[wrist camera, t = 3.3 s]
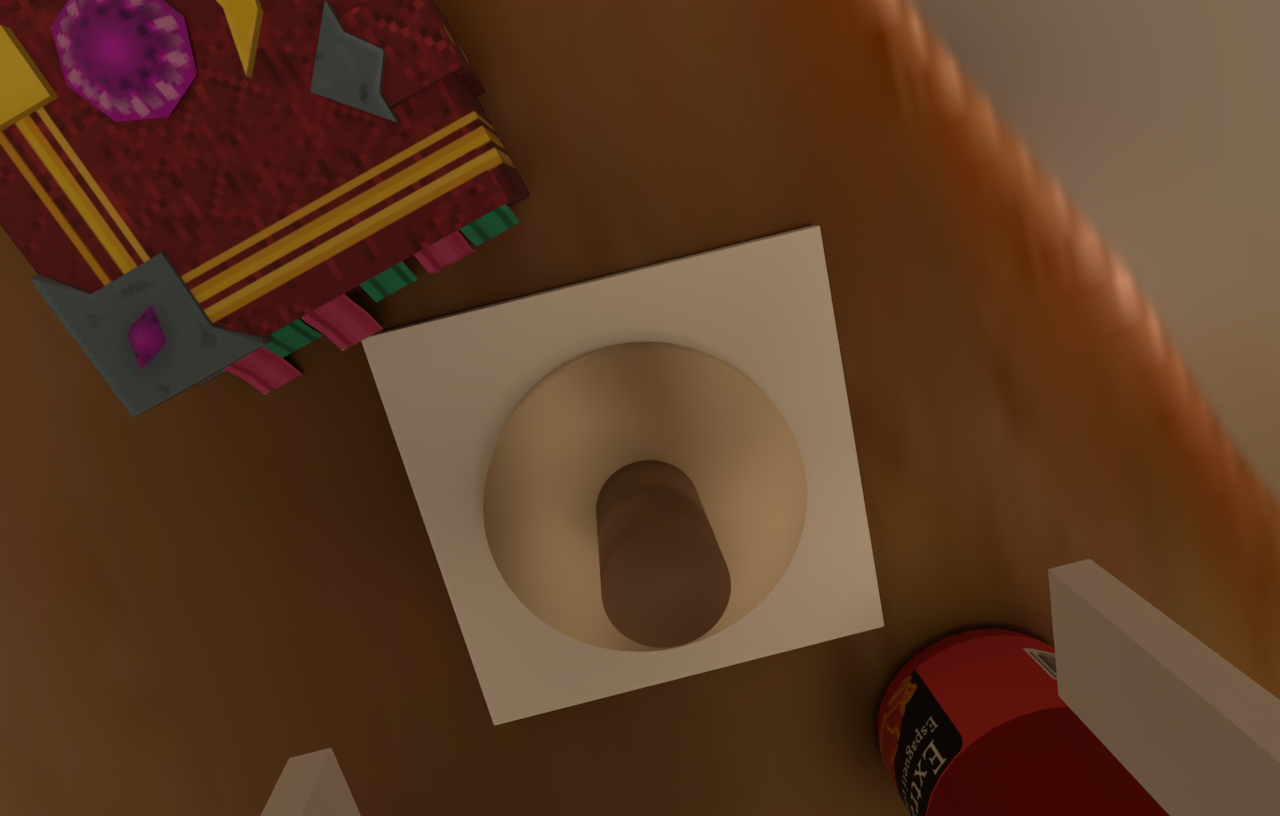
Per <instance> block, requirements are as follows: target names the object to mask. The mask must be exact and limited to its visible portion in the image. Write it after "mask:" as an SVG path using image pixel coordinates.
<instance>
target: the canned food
mask: <svg viewBox="0 0 1280 816" xmlns="http://www.w3.org/2000/svg"><path fill="white" fill-rule="evenodd" d="M878 738H879V746H880V752H881V756H882V760H883V763H884V766H885V768H886V770H887V772H888V774H889V776H890V778H891V779H892V781H893V783H894V785H895V787H896V789H897V791H898V793H899V794H900V796H901V798H902V800H903V802H904V804H905V806H906V808H907V810H908V811H909V813H910V815H911V816H1170V815H1169V814H1168V813H1167V812H1166V811H1165V810H1164V809H1163V808H1162V807H1161V806H1160V805H1159V804H1158V802H1157V801H1156V800H1155V799H1154V798H1153V797H1152V796H1151V795H1150V794H1149V793H1148V792H1147V791H1146V790H1145V788H1144V787H1143V786H1142V785H1141V784H1140V783H1139V782H1138V781H1137V780H1136V779H1135V778H1134V777H1133V775H1132V774H1131V773H1130V772H1129V771H1128V770H1127V769H1126V768H1125V767H1124V766H1123V765H1122V764H1121V763H1120V761H1119V760H1118V759H1117V758H1116V757H1115V756H1114V755H1113V754H1112V753H1111V752H1110V751H1109V750H1108V749H1107V747H1106V746H1105V745H1104V744H1103V743H1102V742H1101V741H1100V740H1099V739H1098V738H1097V737H1096V736H1095V735H1094V733H1093V732H1092V731H1091V730H1090V729H1089V728H1088V727H1087V726H1086V725H1085V724H1084V723H1083V722H1082V721H1081V719H1080V718H1079V717H1078V716H1077V715H1076V714H1075V713H1074V712H1073V711H1072V710H1071V709H1070V708H1069V706H1068V705H1067V704H1066V703H1065V702H1064V701H1063V700H1062V699H1061V698H1060V697H1059V696H1058V684H1057V671H1056V659H1055V647H1053V646H1050V645H1048V644H1046V643H1044V642H1042V641H1040V640H1037V639H1035V638H1033V637H1031V636H1028V635H1026V634H1024V633H1020V632H1015V631H1011V630H1007V629H989V628H987V629H979V630H970V631H966V632H962V633H959V634H955V635H952V636H948V637H946V638H944V639H942V640H940V641H938V642H936V643H934V644H932V645H930V646H928V647H927V648H925V649H924V650H922V651H921V652H920V653H918V654H917V655H915V656H914V657H913V658H912V659H911V660H910V661H909V662H908V663H906V664H905V665H904V666H903V667H902V668H901V669H900V670H899V672H898V673H897V674H896V676H895V677H894V679H893V680H892V681H891V683H890V684H889V686H888V688H887V690H886V692H885V694H884V697H883V699H882V701H881V705H880V710H879V714H878Z"/></svg>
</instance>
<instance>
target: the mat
mask: <svg viewBox="0 0 1280 816" xmlns="http://www.w3.org/2000/svg"><path fill="white" fill-rule="evenodd" d="M361 342H362V345H363V347H364V350H365V353H366V356H367V359H368V362H369V365H370V368H371V371H372V373H373V376H374V379H375V382H376V385H377V388H378V391H379V394H380V397H381V399H382V402H383V405H384V408H385V411H386V414H387V417H388V420H389V423H390V426H391V428H392V431H393V434H394V437H395V440H396V443H397V446H398V449H399V452H400V454H401V457H402V460H403V463H404V466H405V469H406V472H407V475H408V478H409V481H410V483H411V486H412V489H413V492H414V495H415V498H416V501H417V504H418V507H419V509H420V512H421V515H422V518H423V521H424V524H425V527H426V530H427V533H428V536H429V538H430V541H431V544H432V547H433V550H434V553H435V556H436V559H437V562H438V564H439V567H440V570H441V573H442V576H443V579H444V582H445V585H446V588H447V591H448V593H449V596H450V599H451V602H452V605H453V608H454V611H455V614H456V617H457V619H458V622H459V625H460V628H461V631H462V634H463V637H464V640H465V643H466V646H467V648H468V651H469V654H470V657H471V660H472V663H473V666H474V669H475V672H476V674H477V677H478V680H479V683H480V686H481V689H482V692H483V695H484V698H485V701H486V703H487V706H488V709H489V712H490V715H491V718H492V721H493V724H494V725H498V724H502V723H506V722H510V721H514V720H518V719H522V718H526V717H530V716H534V715H538V714H542V713H546V712H550V711H553V710H557V709H561V708H565V707H569V706H573V705H577V704H581V703H585V702H589V701H593V700H597V699H601V698H605V697H608V696H612V695H616V694H620V693H624V692H628V691H632V690H636V689H640V688H644V687H648V686H652V685H656V684H660V683H664V682H667V681H671V680H675V679H679V678H683V677H687V676H691V675H695V674H699V673H703V672H707V671H711V670H715V669H719V668H723V667H726V666H730V665H734V664H738V663H742V662H746V661H750V660H754V659H758V658H762V657H766V656H770V655H774V654H778V653H781V652H785V651H789V650H793V649H797V648H801V647H805V646H809V645H813V644H817V643H821V642H825V641H829V640H833V639H837V638H840V637H844V636H848V635H852V634H856V633H860V632H864V631H868V630H872V629H876V628H880V627H884V621H883V614H882V608H881V602H880V596H879V590H878V583H877V577H876V571H875V565H874V559H873V553H872V546H871V540H870V534H869V528H868V522H867V515H866V509H865V503H864V497H863V491H862V485H861V478H860V472H859V466H858V460H857V454H856V447H855V441H854V435H853V429H852V423H851V417H850V410H849V404H848V398H847V392H846V386H845V379H844V373H843V367H842V361H841V355H840V349H839V342H838V336H837V330H836V324H835V318H834V311H833V305H832V299H831V293H830V287H829V281H828V274H827V268H826V262H825V256H824V250H823V243H822V237H821V231H820V226H817V225H811V226H807V227H803V228H799V229H795V230H791V231H787V232H783V233H779V234H775V235H771V236H767V237H763V238H759V239H754V240H750V241H746V242H742V243H738V244H734V245H730V246H726V247H722V248H718V249H714V250H710V251H706V252H702V253H698V254H694V255H689V256H685V257H681V258H677V259H673V260H669V261H665V262H661V263H657V264H653V265H649V266H645V267H641V268H637V269H633V270H629V271H625V272H620V273H616V274H612V275H608V276H604V277H600V278H596V279H592V280H588V281H584V282H580V283H576V284H572V285H568V286H564V287H560V288H556V289H551V290H547V291H543V292H539V293H535V294H531V295H527V296H523V297H519V298H515V299H511V300H507V301H503V302H499V303H495V304H491V305H486V306H482V307H478V308H474V309H470V310H466V311H462V312H458V313H454V314H450V315H446V316H442V317H438V318H434V319H430V320H426V321H422V322H417V323H413V324H409V325H405V326H401V327H397V328H393V329H389V330H385V331H381V332H377V333H375V334H373V335H371V336H369V337H368V338H366V339H364V340H362V341H361ZM633 342H660V343H672V344H676V345H681V346H686V347H690V348H694V349H697V350H699V351H702V352H705V353H708V354H711V355H713V356H715V357H717V358H718V359H720V360H722V361H724V362H726V363H728V364H730V365H731V366H733V367H734V368H736V369H737V370H738V371H740V372H741V373H743V374H744V375H746V376H747V377H748V378H749V379H750V380H751V381H752V382H753V383H754V384H755V385H756V386H757V387H758V388H760V389H761V390H762V392H763V393H764V394H765V395H766V396H767V397H768V398H769V399H770V400H771V402H772V403H773V404H774V405H775V406H776V408H777V409H778V410H779V411H780V413H781V414H782V415H783V417H784V419H785V420H786V422H787V424H788V425H789V427H790V429H791V430H792V432H793V434H794V437H795V439H796V441H797V444H798V446H799V449H800V451H801V455H802V459H803V463H804V467H805V472H806V481H807V511H806V517H805V523H804V529H803V532H802V535H801V538H800V542H799V545H798V548H797V550H796V552H795V554H794V556H793V559H792V561H791V563H790V565H789V567H788V568H787V570H786V571H785V573H784V575H783V576H782V578H781V579H780V581H779V582H778V583H777V585H776V586H775V587H774V588H773V590H772V591H771V592H770V593H769V595H768V596H767V597H766V598H765V599H764V600H763V601H762V602H761V603H760V604H759V605H758V606H757V607H756V608H755V609H754V610H752V611H751V612H750V613H748V614H747V615H746V616H745V617H743V618H742V619H741V620H739V621H738V622H737V623H735V624H733V625H731V626H730V627H728V628H726V629H725V630H723V631H721V632H720V633H717V634H715V635H713V636H711V637H708V638H706V639H704V640H702V641H699V642H695V643H692V644H689V645H686V646H683V647H678V648H673V649H667V650H662V651H649V652H630V651H618V650H612V649H605V648H601V647H597V646H593V645H590V644H586V643H583V642H581V641H578V640H576V639H573V638H571V637H569V636H566V635H564V634H563V633H561V632H559V631H557V630H556V629H554V628H552V627H550V626H549V625H547V624H546V623H545V622H543V621H542V620H541V619H539V618H538V617H537V616H535V615H534V614H533V613H532V612H531V611H530V610H529V609H528V608H527V607H525V606H524V605H523V604H522V603H521V602H520V601H519V600H518V598H517V597H516V596H515V594H514V593H513V592H512V591H511V589H510V588H509V587H508V585H507V584H506V582H505V581H504V579H503V577H502V575H501V574H500V572H499V570H498V568H497V566H496V564H495V561H494V559H493V556H492V554H491V551H490V549H489V545H488V541H487V537H486V532H485V526H484V516H483V497H484V486H485V481H486V476H487V471H488V467H489V464H490V460H491V457H492V454H493V451H494V448H495V445H496V442H497V440H498V437H499V435H500V433H501V431H502V429H503V427H504V425H505V423H506V421H507V419H508V418H509V416H510V415H511V413H512V412H513V411H514V409H515V408H516V406H517V405H518V403H519V402H520V401H521V400H522V399H523V398H524V397H525V395H526V394H527V393H528V392H529V391H530V390H531V389H532V388H533V387H534V386H535V385H536V384H537V383H539V382H540V381H541V380H542V379H543V378H545V377H546V376H547V375H548V374H549V373H551V372H553V371H554V370H556V369H557V368H559V367H560V366H562V365H564V364H565V363H567V362H569V361H571V360H573V359H575V358H577V357H579V356H582V355H584V354H586V353H589V352H592V351H595V350H598V349H601V348H604V347H608V346H613V345H619V344H624V343H633Z"/></svg>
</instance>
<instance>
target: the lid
mask: <svg viewBox="0 0 1280 816" xmlns="http://www.w3.org/2000/svg"><path fill="white" fill-rule="evenodd" d="M806 511H807V481H806V472H805V467H804V463H803V459H802V455H801V451H800V449H799V446H798V444H797V441H796V439H795V437H794V434H793V432H792V430H791V429H790V427H789V425H788V424H787V422H786V420H785V419H784V417H783V415H782V414H781V413H780V411H779V410H778V409H777V408H776V406H775V405H774V404H773V403H772V402H771V400H770V399H769V398H768V397H767V396H766V395H765V394H764V393H763V392H762V390H761V389H760V388H758V387H757V386H756V385H755V384H754V383H753V382H752V381H751V380H750V379H749V378H748V377H747V376H746V375H744V374H743V373H741V372H740V371H738V370H737V369H736V368H734V367H733V366H731V365H730V364H728V363H726V362H724V361H722V360H720V359H718V358H717V357H715V356H713V355H711V354H708V353H705V352H702V351H699V350H697V349H694V348H690V347H686V346H681V345H676V344H672V343H660V342H633V343H624V344H619V345H613V346H608V347H604V348H601V349H598V350H595V351H592V352H589V353H586V354H584V355H582V356H579V357H577V358H575V359H573V360H571V361H569V362H567V363H565V364H564V365H562V366H560V367H559V368H557V369H556V370H554V371H553V372H551V373H549V374H548V375H547V376H546V377H545V378H543V379H542V380H541V381H540V382H539V383H537V384H536V385H535V386H534V387H533V388H532V389H531V390H530V391H529V392H528V393H527V394H526V395H525V397H524V398H523V399H522V400H521V401H520V402H519V403H518V405H517V406H516V408H515V409H514V411H513V412H512V413H511V415H510V416H509V418H508V419H507V421H506V423H505V425H504V427H503V429H502V431H501V433H500V435H499V437H498V440H497V442H496V445H495V448H494V451H493V454H492V457H491V460H490V464H489V467H488V471H487V476H486V481H485V486H484V497H483V516H484V526H485V532H486V537H487V541H488V545H489V549H490V551H491V554H492V556H493V559H494V561H495V564H496V566H497V568H498V570H499V572H500V574H501V575H502V577H503V579H504V581H505V582H506V584H507V585H508V587H509V588H510V589H511V591H512V592H513V593H514V594H515V596H516V597H517V598H518V600H519V601H520V602H521V603H522V604H523V605H524V606H525V607H527V608H528V609H529V610H530V611H531V612H532V613H533V614H534V615H535V616H537V617H538V618H539V619H541V620H542V621H543V622H545V623H546V624H547V625H549V626H550V627H552V628H554V629H556V630H557V631H559V632H561V633H563V634H564V635H566V636H569V637H571V638H573V639H576V640H578V641H581V642H583V643H586V644H590V645H593V646H597V647H601V648H605V649H612V650H618V651H630V652H649V651H662V650H667V649H673V648H678V647H683V646H686V645H689V644H692V643H695V642H699V641H702V640H704V639H706V638H708V637H711V636H713V635H715V634H717V633H720V632H721V631H723V630H725V629H726V628H728V627H730V626H731V625H733V624H735V623H737V622H738V621H739V620H741V619H742V618H743V617H745V616H746V615H747V614H748V613H750V612H751V611H752V610H754V609H755V608H756V607H757V606H758V605H759V604H760V603H761V602H762V601H763V600H764V599H765V598H766V597H767V596H768V595H769V593H770V592H771V591H772V590H773V588H774V587H775V586H776V585H777V583H778V582H779V581H780V579H781V578H782V576H783V575H784V573H785V571H786V570H787V568H788V567H789V565H790V563H791V561H792V559H793V556H794V554H795V552H796V550H797V548H798V545H799V542H800V538H801V535H802V532H803V529H804V523H805V517H806Z"/></svg>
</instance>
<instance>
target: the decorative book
mask: <svg viewBox="0 0 1280 816" xmlns="http://www.w3.org/2000/svg"><path fill="white" fill-rule="evenodd" d="M484 92H485V89H484V87H483V85H482V84H481V82H480V80H479V78H478V76H477V74H476V72H475V71H474V69H473V67H472V65H471V63H470V61H469V60H468V58H467V56H466V54H465V52H464V50H463V49H462V47H461V45H460V43H459V41H458V39H457V38H456V36H455V34H454V32H453V30H452V28H451V27H450V25H449V23H448V21H447V19H446V18H445V17H444V15H443V14H442V12H441V11H440V10H439V8H438V7H437V6H436V4H435V3H434V2H433V0H0V224H1V226H2V227H3V228H4V230H5V231H6V232H7V234H8V235H9V236H10V238H11V239H12V240H13V242H14V243H15V244H16V246H17V247H18V248H19V250H20V251H21V252H22V254H23V255H24V256H25V257H26V259H27V260H28V261H29V263H30V264H31V265H32V267H33V268H34V269H35V271H36V272H37V273H38V275H36V276H33V277H30V278H29V279H30V281H31V282H32V283H33V285H34V286H35V287H36V289H37V290H38V291H39V293H40V294H41V295H42V297H43V298H44V299H45V301H46V302H47V303H48V305H49V306H50V307H51V309H52V310H53V311H54V313H55V314H56V315H57V317H58V318H59V319H60V321H61V322H62V323H63V325H64V326H65V327H66V329H67V330H68V331H69V333H70V334H71V335H72V337H73V338H74V340H75V341H76V342H77V344H78V345H79V346H80V348H81V349H82V350H83V352H84V353H85V354H86V356H87V357H88V358H89V360H90V361H91V362H92V364H93V365H94V366H95V368H96V369H97V370H98V372H99V373H100V374H101V376H102V377H103V378H104V380H105V381H106V382H107V384H108V385H109V386H110V388H111V389H112V390H113V392H114V393H115V394H116V396H117V397H118V398H119V400H120V401H121V402H122V404H123V405H124V406H125V408H126V409H127V410H128V412H129V413H130V414H131V416H132V417H133V418H134V417H137V416H139V415H141V414H143V413H145V412H147V411H149V410H151V409H153V408H154V407H156V406H158V405H160V404H161V403H163V402H165V401H167V400H169V399H170V398H172V397H174V396H176V395H178V394H179V393H181V392H183V391H185V390H187V389H188V388H190V387H192V386H194V385H195V384H197V383H198V384H199V385H202V384H204V383H206V382H208V381H210V380H212V379H213V378H215V377H217V376H219V375H220V374H222V373H224V372H226V371H227V372H230V373H232V374H234V375H236V376H238V377H240V378H242V379H244V380H245V381H247V382H248V383H249V384H251V385H252V386H253V387H255V388H256V389H257V390H259V391H260V392H261V393H263V394H264V395H266V394H268V393H270V392H271V391H273V390H275V389H277V388H279V387H281V386H282V385H284V384H286V383H288V382H290V381H291V380H293V379H295V378H297V377H299V376H301V375H302V373H300V372H299V371H298V370H297V369H296V368H294V367H293V366H292V365H291V364H290V363H288V362H287V361H286V360H285V359H283V358H284V357H285V356H287V355H289V354H291V353H293V352H294V351H296V350H298V349H300V348H302V347H303V346H305V345H307V344H309V343H311V342H312V341H314V340H316V339H318V338H320V337H322V335H321V334H319V333H318V332H316V331H315V330H313V329H312V328H310V327H309V326H307V325H311V326H312V327H314V328H315V329H317V330H318V331H320V332H322V333H323V334H325V335H326V336H327V337H328V338H329V339H330V340H331V341H332V342H333V343H334V344H335V345H336V346H338V347H339V348H340V349H341V350H342V351H344V350H346V349H348V348H349V347H351V346H353V345H355V344H357V343H358V342H360V341H362V340H364V339H366V338H368V337H369V336H371V335H373V334H375V333H377V332H378V331H380V330H382V329H383V328H382V327H381V326H380V325H379V324H378V323H377V322H376V321H375V320H374V319H373V318H372V317H371V316H370V315H369V314H368V313H367V312H366V311H365V310H364V309H362V308H361V307H360V306H358V305H357V304H356V303H355V302H353V301H352V300H351V299H349V298H348V296H350V295H352V294H353V293H355V292H357V291H359V290H361V289H364V290H365V291H366V292H367V294H368V295H369V296H370V297H371V298H372V299H373V300H374V301H375V302H378V301H380V300H382V299H383V298H385V297H387V296H389V295H391V294H392V293H394V292H396V291H398V290H400V289H401V288H403V287H405V286H407V285H409V284H410V283H412V282H414V281H416V280H418V279H417V277H416V276H415V275H414V274H413V273H412V272H411V270H410V269H409V268H408V267H407V266H406V264H408V263H409V262H411V261H413V260H415V259H417V260H418V261H419V262H420V263H421V264H422V266H423V267H424V268H425V269H426V270H427V272H428V273H432V274H436V273H438V272H440V271H441V270H443V269H445V268H447V267H449V266H450V265H452V264H454V263H456V262H458V261H460V260H461V259H463V258H465V257H467V256H469V255H470V254H472V253H474V252H476V250H473V249H471V247H470V246H469V244H468V243H467V242H466V240H465V239H464V238H463V236H462V235H461V234H462V233H463V234H464V235H465V236H466V237H467V238H468V239H469V240H470V241H471V242H472V243H473V244H474V245H475V246H476V247H477V246H479V245H480V244H482V243H484V242H486V241H488V240H489V239H491V238H493V237H495V236H497V235H499V234H500V233H502V232H504V231H506V230H508V229H509V228H511V227H513V226H515V225H517V224H518V223H520V221H519V220H518V218H517V217H516V216H515V214H514V213H513V212H512V210H511V209H510V208H509V207H510V206H512V205H514V204H516V203H517V202H519V201H521V200H523V199H525V198H526V197H528V196H530V194H529V192H528V190H527V188H526V186H525V185H524V183H523V181H522V179H521V177H520V176H519V174H518V172H517V170H516V168H515V166H514V165H513V163H512V161H511V159H510V157H509V156H508V154H507V152H506V150H505V148H504V146H503V145H502V143H501V141H500V139H499V137H498V135H497V134H496V132H495V130H494V128H493V126H492V125H491V123H490V121H489V119H488V117H487V115H486V114H485V112H484V110H483V108H482V106H481V105H480V103H479V101H478V99H477V96H478V95H480V94H482V93H484ZM269 350H270V351H269ZM278 355H279V356H278Z"/></svg>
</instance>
